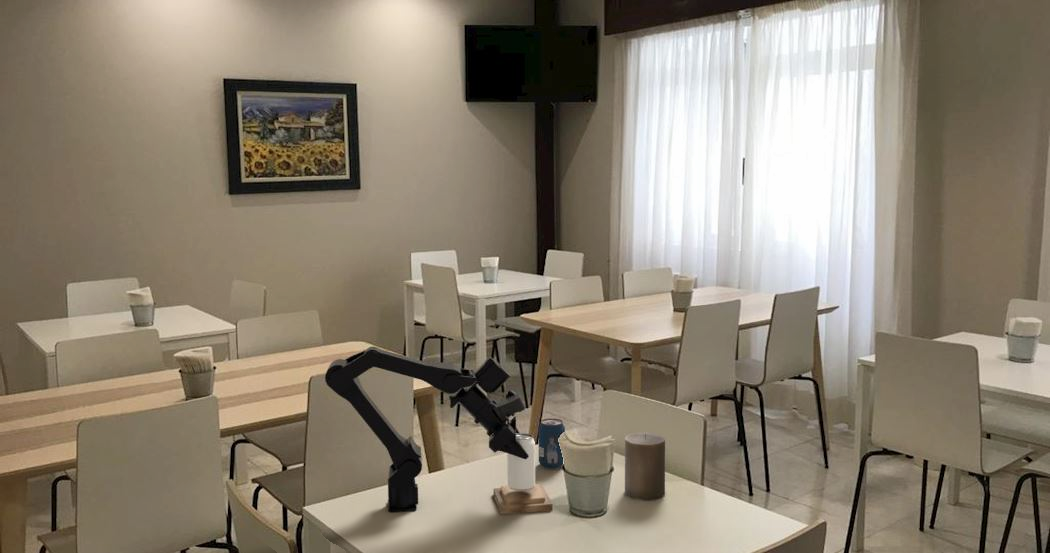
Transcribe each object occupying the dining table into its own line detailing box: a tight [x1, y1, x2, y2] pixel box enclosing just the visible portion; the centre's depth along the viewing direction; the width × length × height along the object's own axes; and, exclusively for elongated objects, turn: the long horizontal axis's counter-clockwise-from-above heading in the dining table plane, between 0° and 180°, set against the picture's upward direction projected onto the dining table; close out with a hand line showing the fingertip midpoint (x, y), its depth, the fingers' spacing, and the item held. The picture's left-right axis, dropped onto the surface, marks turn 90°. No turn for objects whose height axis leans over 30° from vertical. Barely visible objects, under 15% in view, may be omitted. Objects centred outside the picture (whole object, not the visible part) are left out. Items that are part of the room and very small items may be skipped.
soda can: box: [538, 418, 566, 470], centre depth 226 cm, size 7×7×12 cm
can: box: [506, 432, 536, 490], centre depth 201 cm, size 6×6×12 cm
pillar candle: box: [624, 432, 666, 501], centre depth 207 cm, size 10×10×15 cm
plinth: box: [493, 483, 554, 515], centre depth 202 cm, size 12×12×2 cm
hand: (527, 453), depth 201 cm, fingers closed on can, 6 cm apart
